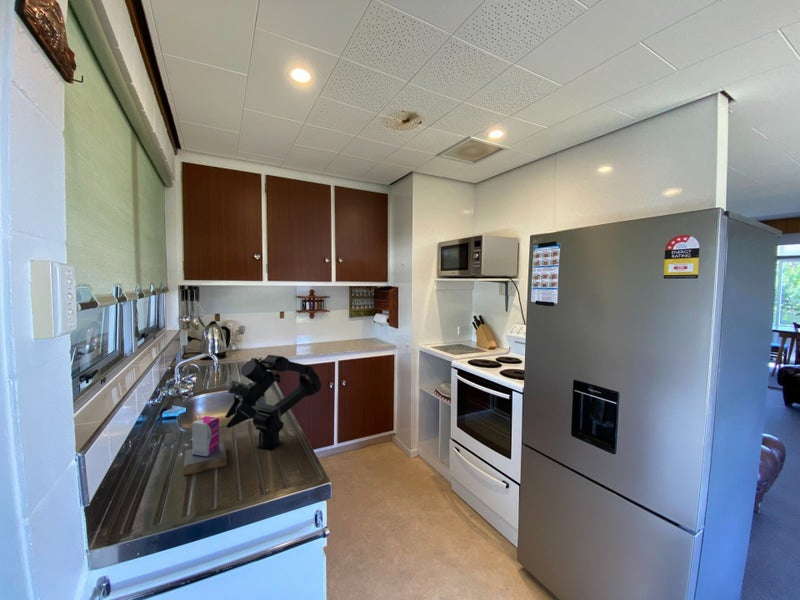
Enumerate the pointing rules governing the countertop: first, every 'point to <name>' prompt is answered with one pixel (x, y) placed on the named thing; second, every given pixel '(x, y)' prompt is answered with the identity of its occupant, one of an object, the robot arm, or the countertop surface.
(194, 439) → the supplement box
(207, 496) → the countertop surface
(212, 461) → the walnut base
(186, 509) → the countertop surface
